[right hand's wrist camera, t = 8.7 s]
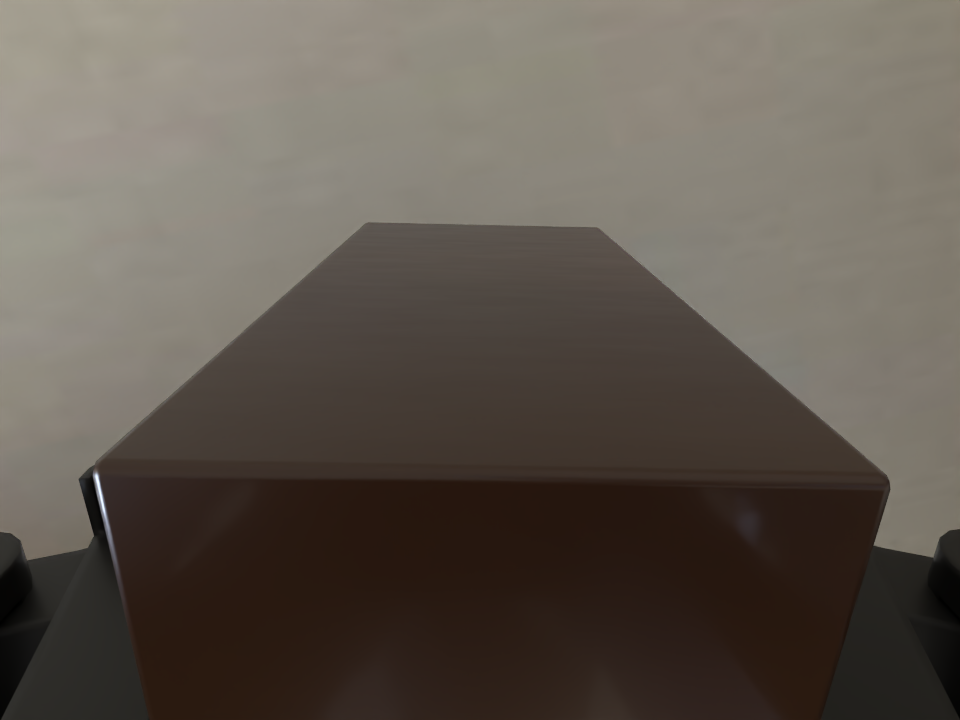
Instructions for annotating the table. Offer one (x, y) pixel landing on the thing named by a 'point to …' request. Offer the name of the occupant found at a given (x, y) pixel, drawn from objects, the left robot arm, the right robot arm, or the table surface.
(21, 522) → the table surface
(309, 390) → the walnut box
